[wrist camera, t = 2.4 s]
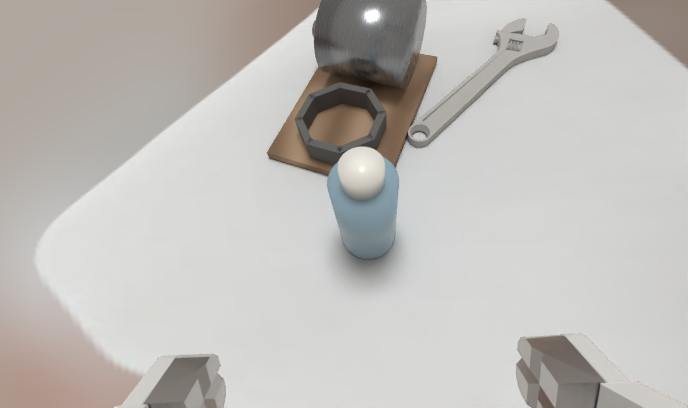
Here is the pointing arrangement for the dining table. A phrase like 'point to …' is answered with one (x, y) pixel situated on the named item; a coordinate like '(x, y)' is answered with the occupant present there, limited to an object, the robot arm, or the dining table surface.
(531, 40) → the adjustable wrench
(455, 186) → the dining table surface
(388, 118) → the base plate
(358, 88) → the collar
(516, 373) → the robot arm
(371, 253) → the blue plastic bottle
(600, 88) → the dining table surface
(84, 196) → the dining table surface
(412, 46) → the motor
